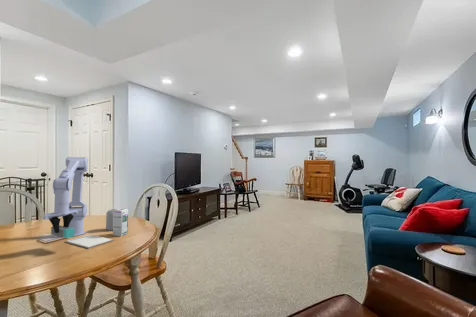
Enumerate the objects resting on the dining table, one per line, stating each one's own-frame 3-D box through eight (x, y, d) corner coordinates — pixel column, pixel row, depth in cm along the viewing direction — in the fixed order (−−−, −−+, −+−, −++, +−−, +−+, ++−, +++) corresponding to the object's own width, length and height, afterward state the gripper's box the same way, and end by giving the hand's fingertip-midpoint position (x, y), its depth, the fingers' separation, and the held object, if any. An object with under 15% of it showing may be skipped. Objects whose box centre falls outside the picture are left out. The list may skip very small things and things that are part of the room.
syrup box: (121, 236, 139) (122, 210, 139) (112, 235, 140) (113, 209, 140) (127, 233, 145) (128, 208, 145) (119, 232, 146) (119, 208, 146)
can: (122, 228, 155) (122, 209, 155) (112, 231, 148) (113, 211, 148) (112, 227, 157) (113, 208, 158) (103, 230, 150) (103, 210, 151)
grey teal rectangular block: (50, 233, 119) (51, 226, 119) (59, 232, 123) (59, 224, 123) (66, 238, 114) (66, 230, 114) (74, 236, 117) (74, 228, 117)
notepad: (64, 242, 127) (64, 240, 127) (91, 235, 140) (91, 234, 140) (87, 248, 119) (88, 247, 119) (113, 240, 132) (113, 239, 132)
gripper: (49, 206, 111) (48, 236, 111) (82, 201, 124) (81, 229, 124) (40, 204, 114) (40, 234, 114) (73, 200, 127) (72, 227, 127)
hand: (61, 231), depth 119 cm, fingers closed on grey teal rectangular block, 3 cm apart
